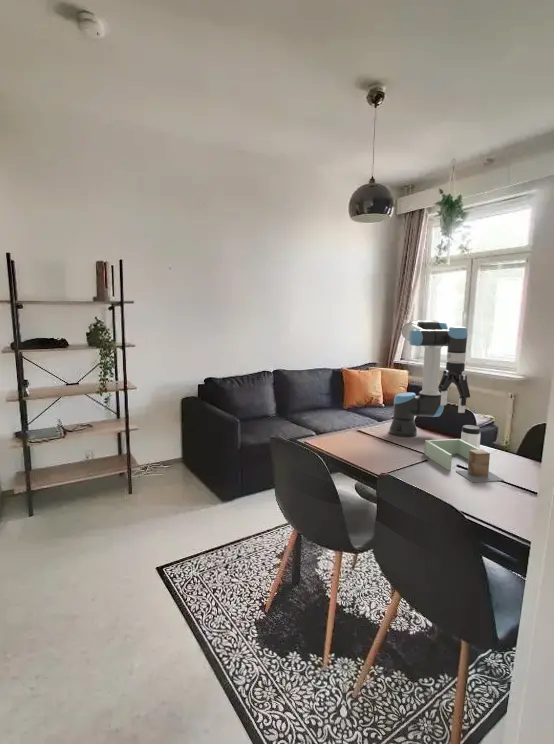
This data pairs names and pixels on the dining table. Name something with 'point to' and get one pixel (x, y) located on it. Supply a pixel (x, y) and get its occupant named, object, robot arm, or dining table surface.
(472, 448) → the u-shaped enclosure
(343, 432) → the dining table surface
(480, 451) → the block
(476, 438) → the jar
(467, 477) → the mat
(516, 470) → the dining table surface
